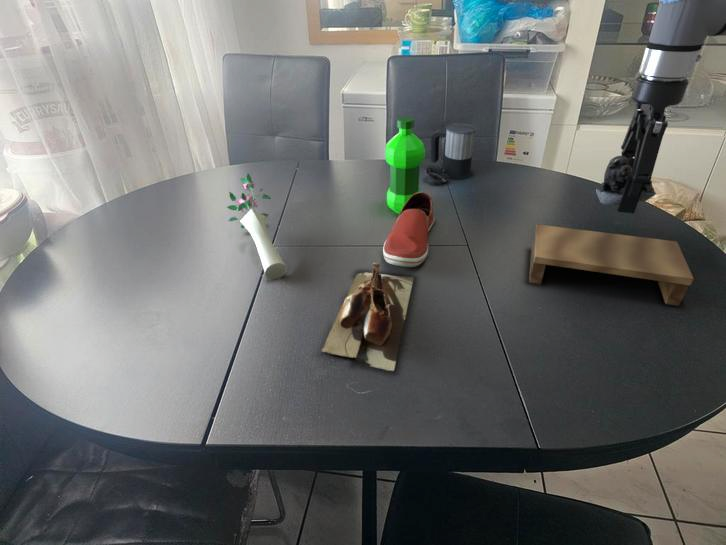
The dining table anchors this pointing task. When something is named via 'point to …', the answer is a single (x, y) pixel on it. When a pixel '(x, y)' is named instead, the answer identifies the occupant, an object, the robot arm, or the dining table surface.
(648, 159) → the robot arm
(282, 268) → the flower vase
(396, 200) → the plastic bottle
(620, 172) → the bison figurine
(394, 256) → the slip on shoe
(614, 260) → the oak shelf
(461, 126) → the milk frother
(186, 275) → the dining table surface
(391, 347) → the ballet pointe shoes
